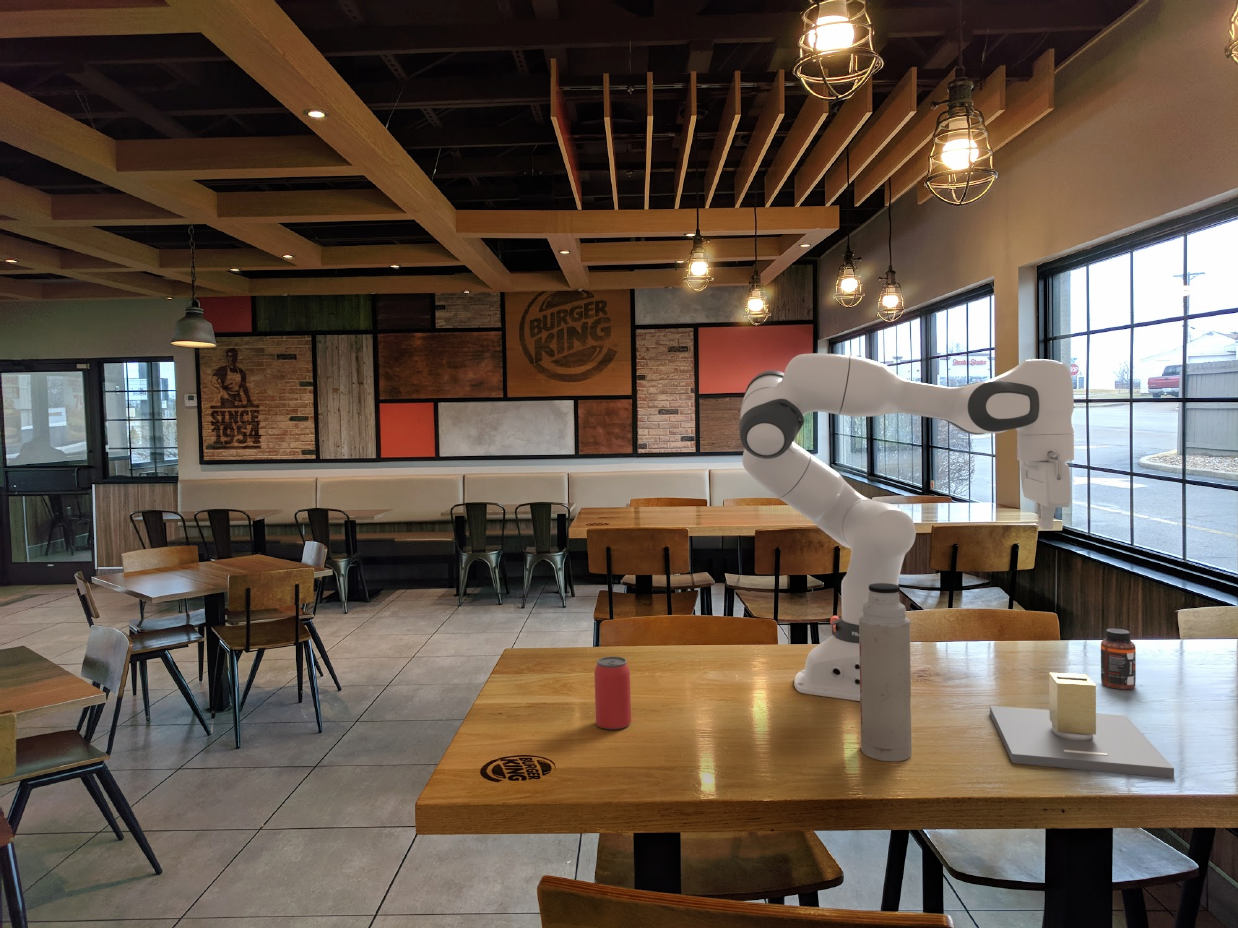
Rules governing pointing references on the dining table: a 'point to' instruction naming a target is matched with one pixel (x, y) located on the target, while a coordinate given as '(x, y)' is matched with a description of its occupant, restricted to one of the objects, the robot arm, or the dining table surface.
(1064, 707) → the brushed gold block
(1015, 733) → the stud plate
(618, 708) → the beer can
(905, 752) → the thermos bottle
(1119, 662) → the supplement bottle
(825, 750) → the dining table surface
